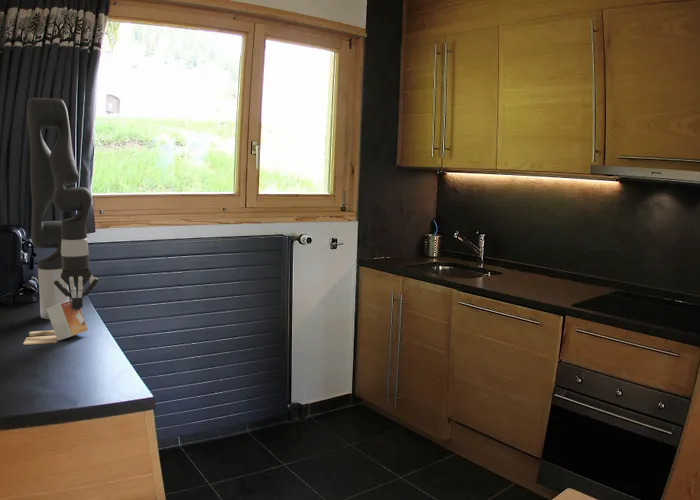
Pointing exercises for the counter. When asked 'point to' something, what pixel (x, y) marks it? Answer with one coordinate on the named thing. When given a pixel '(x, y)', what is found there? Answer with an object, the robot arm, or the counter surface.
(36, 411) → the counter surface
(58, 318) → the small box
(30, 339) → the plate
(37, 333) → the turner
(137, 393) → the counter surface
